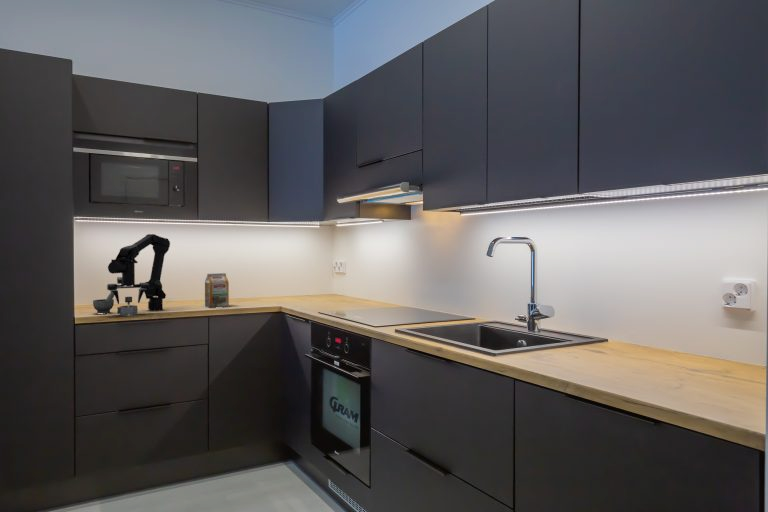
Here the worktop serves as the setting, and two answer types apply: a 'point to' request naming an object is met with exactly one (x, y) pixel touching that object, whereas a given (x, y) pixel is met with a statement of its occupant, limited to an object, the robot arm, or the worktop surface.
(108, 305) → the mortar and pestle
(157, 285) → the robot arm
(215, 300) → the printed carton
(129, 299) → the plunger
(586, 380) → the worktop surface
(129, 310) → the blue-grey block
